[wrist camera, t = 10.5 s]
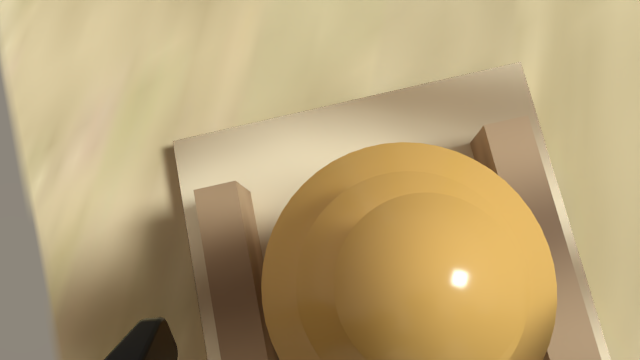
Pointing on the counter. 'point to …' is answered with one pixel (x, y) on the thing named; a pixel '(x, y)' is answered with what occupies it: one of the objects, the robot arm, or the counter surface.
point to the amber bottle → (408, 263)
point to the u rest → (345, 137)
